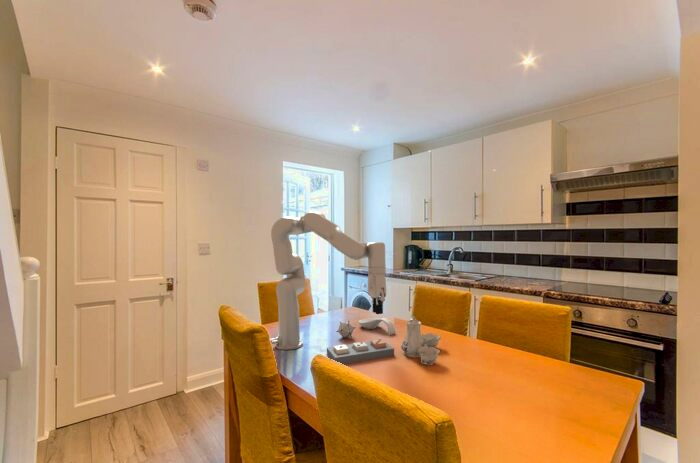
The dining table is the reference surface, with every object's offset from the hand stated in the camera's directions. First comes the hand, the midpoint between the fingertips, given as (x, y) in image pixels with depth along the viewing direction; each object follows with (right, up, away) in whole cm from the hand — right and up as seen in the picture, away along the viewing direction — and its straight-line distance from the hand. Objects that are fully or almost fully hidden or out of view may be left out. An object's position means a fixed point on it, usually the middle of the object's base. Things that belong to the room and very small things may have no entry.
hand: (377, 312), depth 140 cm
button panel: (-8, -17, -3) cm, 19 cm away
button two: (-8, -15, -3) cm, 17 cm away
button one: (-16, -15, -6) cm, 23 cm away
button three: (0, -15, 0) cm, 15 cm away
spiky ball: (-14, -18, +20) cm, 30 cm away
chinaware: (+18, -17, -3) cm, 25 cm away
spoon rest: (+2, -18, +33) cm, 38 cm away
